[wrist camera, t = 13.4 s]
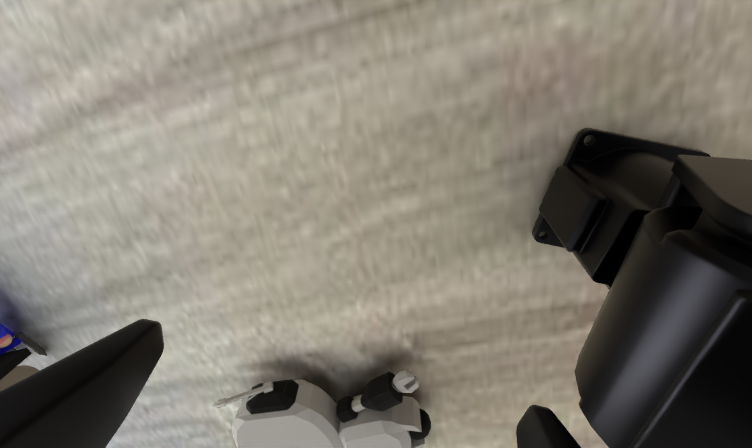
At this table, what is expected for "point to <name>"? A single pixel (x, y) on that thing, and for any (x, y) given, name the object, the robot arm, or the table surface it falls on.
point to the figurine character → (15, 357)
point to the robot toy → (330, 416)
